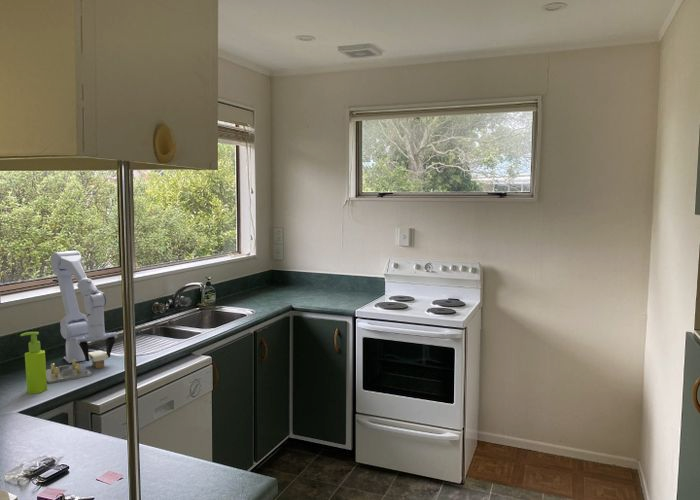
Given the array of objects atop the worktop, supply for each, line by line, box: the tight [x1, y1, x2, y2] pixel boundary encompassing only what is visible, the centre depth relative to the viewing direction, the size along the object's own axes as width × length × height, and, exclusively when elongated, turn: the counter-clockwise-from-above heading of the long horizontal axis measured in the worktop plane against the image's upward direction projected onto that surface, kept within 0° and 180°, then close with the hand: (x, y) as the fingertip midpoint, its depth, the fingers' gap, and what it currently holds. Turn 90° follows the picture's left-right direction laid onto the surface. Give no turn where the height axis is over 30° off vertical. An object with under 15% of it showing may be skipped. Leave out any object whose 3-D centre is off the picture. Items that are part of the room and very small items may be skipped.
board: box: [88, 350, 109, 362], centre depth 210 cm, size 9×5×2 cm, turn 39°
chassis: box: [46, 360, 93, 385], centre depth 200 cm, size 16×14×4 cm
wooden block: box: [91, 360, 105, 369], centre depth 210 cm, size 6×3×3 cm, turn 39°
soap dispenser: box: [19, 331, 48, 395], centre depth 182 cm, size 6×7×20 cm
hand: (97, 358), depth 210 cm, fingers open, 7 cm apart
